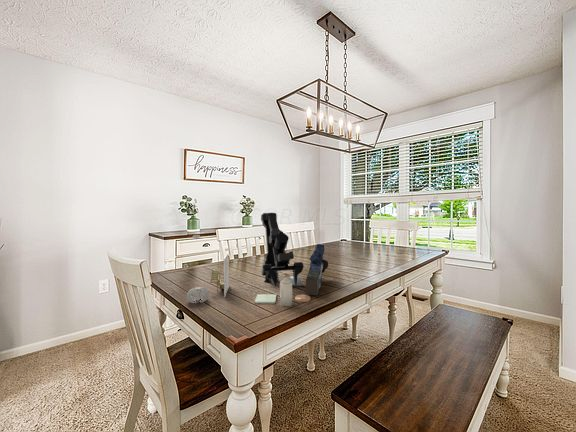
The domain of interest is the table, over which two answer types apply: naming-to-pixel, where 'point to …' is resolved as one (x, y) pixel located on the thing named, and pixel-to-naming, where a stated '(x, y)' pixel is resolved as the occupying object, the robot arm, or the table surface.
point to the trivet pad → (265, 299)
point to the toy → (316, 270)
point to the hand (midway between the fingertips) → (285, 285)
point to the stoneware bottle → (285, 291)
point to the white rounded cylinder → (299, 280)
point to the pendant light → (197, 289)
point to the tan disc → (302, 298)
